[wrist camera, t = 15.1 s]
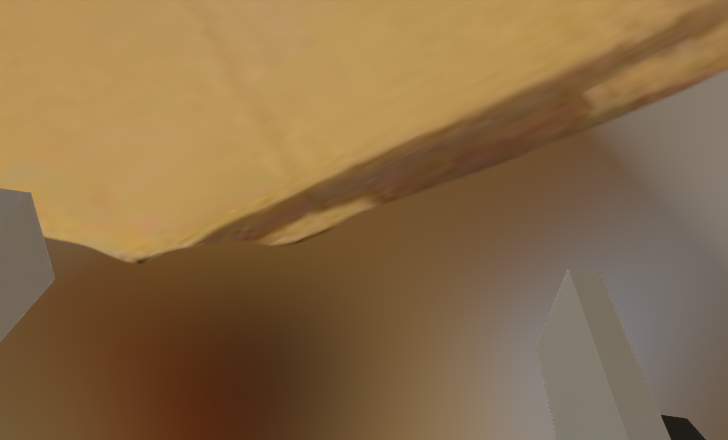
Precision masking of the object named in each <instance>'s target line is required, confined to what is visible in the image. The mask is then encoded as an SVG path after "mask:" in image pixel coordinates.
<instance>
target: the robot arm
mask: <svg viewBox="0 0 728 440" xmlns="http://www.w3.org/2000/svg"><path fill="white" fill-rule="evenodd" d="M54 280H55V276H54V273H53V269H52V266H51V262H50V259H49V255H48V252H47V248H46V245H45V241H44V238H43V234H42V231H41V227H40V224H39V220H38V217H37V213H36V210H35V206H34V203H33V199H32V196H31V193H28V192H21V191H14V190H7V189H0V341H1V340H2V339H3V338H4V337H5V336H6V335H7V334H8V332H9V331H10V330H11V329H12V328H13V327H14V326H15V324H16V323H17V322H18V321H19V320H20V319H21V318H22V316H23V315H24V314H25V313H26V312H27V311H28V309H29V308H30V307H31V306H32V305H33V304H34V302H35V301H36V300H37V299H38V298H39V297H40V296H41V295H42V293H43V292H44V291H45V290H46V288H48V287H49V285H50V284H51V283H52V282H53V281H54ZM536 351H537V356H538V360H539V365H540V369H541V373H542V377H543V382H544V387H545V391H546V395H547V400H548V404H549V409H550V413H551V417H552V421H553V425H554V430H555V435H556V439H557V440H705V439H704V437H703V436H702V435H701V434H700V433H699V432H698V431H697V429H696V428H695V427H694V426H693V425H692V424H691V423H690V422H689V420H688V419H685V418H679V417H672V416H665V415H660V413H659V410H658V408H657V405H656V403H655V401H654V398H653V396H652V394H651V391H650V389H649V387H648V384H647V382H646V380H645V377H644V375H643V372H642V370H641V368H640V365H639V363H638V361H637V358H636V356H635V354H634V351H633V349H632V347H631V344H630V342H629V340H628V337H627V335H626V332H625V330H624V328H623V325H622V323H621V321H620V318H619V316H618V314H617V311H616V309H615V307H614V304H613V302H612V300H611V297H610V295H609V292H608V290H607V288H606V285H605V283H604V281H603V278H602V276H601V274H600V273H599V272H593V271H585V270H578V269H571V268H568V270H567V272H566V275H565V277H564V280H563V282H562V285H561V287H560V289H559V291H558V294H557V296H556V299H555V301H554V304H553V306H552V309H551V311H550V313H549V316H548V318H547V321H546V323H545V326H544V328H543V330H542V333H541V335H540V338H539V340H538V342H537V345H536Z"/></svg>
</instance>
